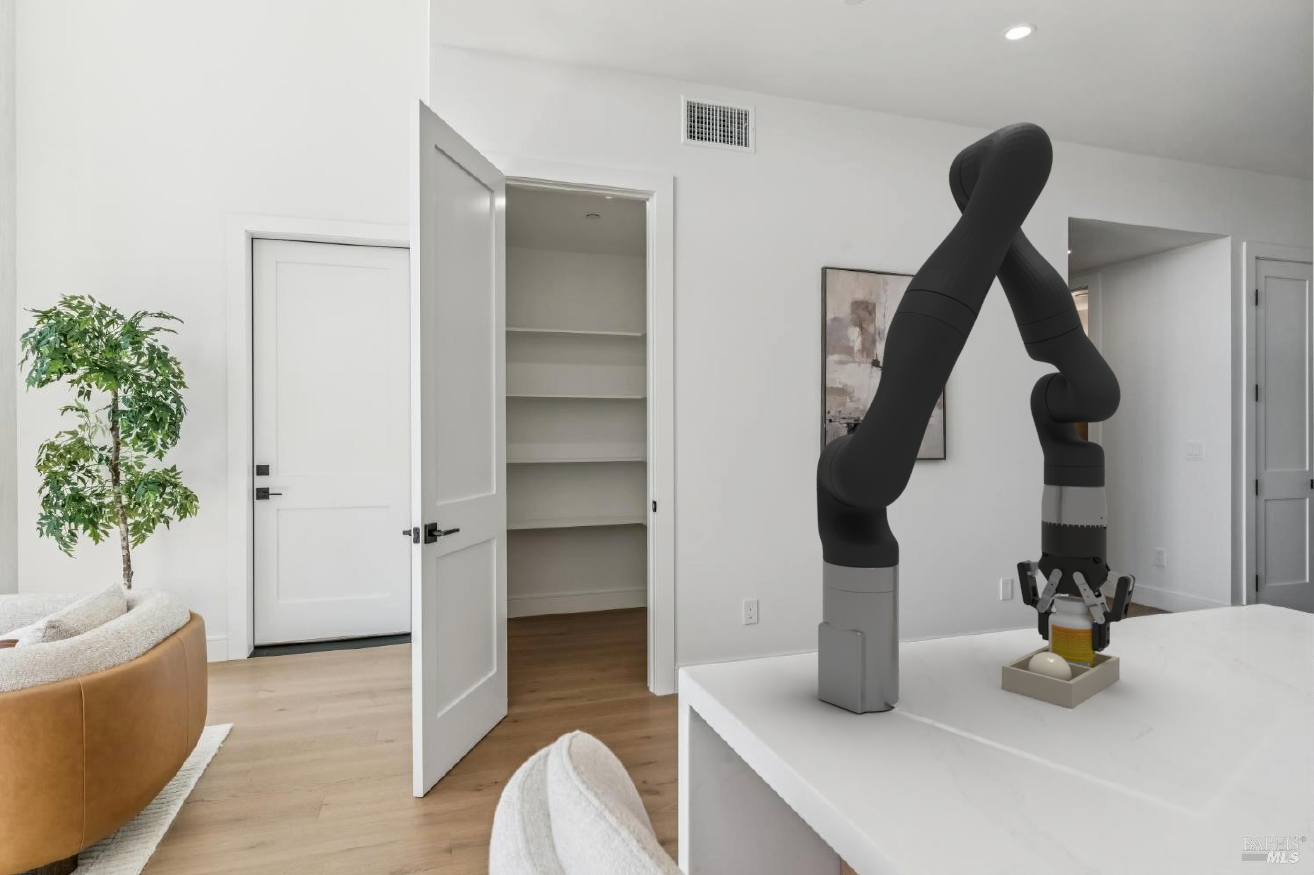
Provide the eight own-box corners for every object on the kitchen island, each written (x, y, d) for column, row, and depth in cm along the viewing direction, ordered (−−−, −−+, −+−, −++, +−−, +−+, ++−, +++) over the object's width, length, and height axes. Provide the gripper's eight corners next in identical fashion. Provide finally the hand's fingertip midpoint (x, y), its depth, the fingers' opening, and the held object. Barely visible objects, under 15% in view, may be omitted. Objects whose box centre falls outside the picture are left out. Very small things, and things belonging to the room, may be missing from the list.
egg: (1062, 700, 84) (1062, 661, 84) (1021, 689, 88) (1021, 651, 88) (1077, 691, 87) (1077, 653, 87) (1037, 681, 91) (1037, 644, 91)
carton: (1072, 713, 82) (1072, 684, 81) (1001, 693, 88) (1001, 666, 88) (1119, 683, 91) (1119, 657, 91) (1053, 667, 98) (1053, 642, 98)
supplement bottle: (1103, 679, 89) (1102, 604, 89) (1057, 677, 90) (1056, 602, 90) (1085, 666, 94) (1085, 595, 94) (1042, 663, 95) (1042, 593, 95)
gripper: (1005, 516, 95) (1005, 637, 95) (1125, 527, 84) (1125, 664, 84) (1029, 512, 100) (1029, 628, 100) (1146, 522, 89) (1145, 652, 89)
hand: (1073, 644), depth 92 cm, fingers open, 5 cm apart
